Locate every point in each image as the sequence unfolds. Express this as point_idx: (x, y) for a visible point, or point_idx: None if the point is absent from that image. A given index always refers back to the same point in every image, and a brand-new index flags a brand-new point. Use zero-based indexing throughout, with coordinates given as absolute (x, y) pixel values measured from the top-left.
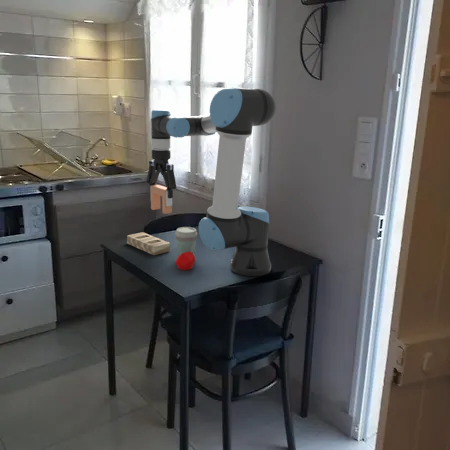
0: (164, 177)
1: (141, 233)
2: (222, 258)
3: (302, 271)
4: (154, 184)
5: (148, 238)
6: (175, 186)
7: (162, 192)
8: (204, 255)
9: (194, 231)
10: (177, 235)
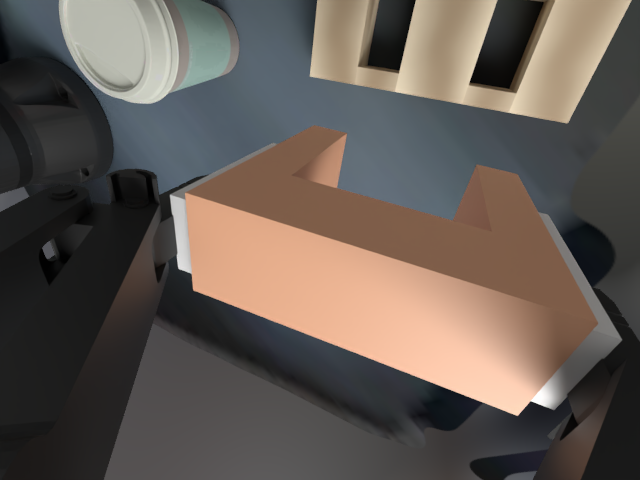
0: (31, 351)
1: (560, 95)
2: (161, 145)
3: (25, 189)
4: (573, 405)
5: (452, 48)
6: (51, 259)
7: (265, 190)
8: (209, 131)
9: (68, 47)
10: None
